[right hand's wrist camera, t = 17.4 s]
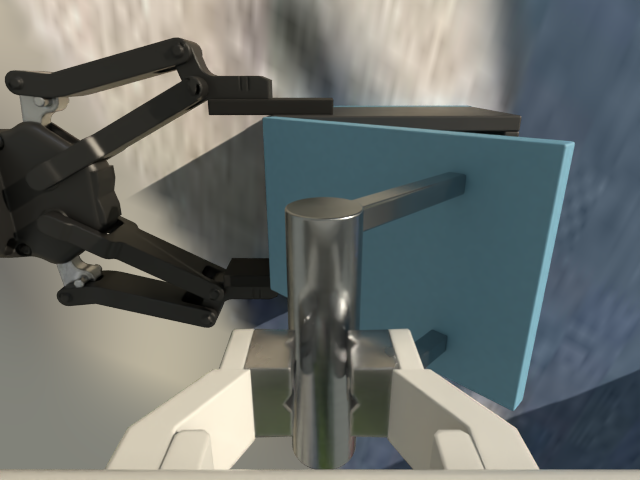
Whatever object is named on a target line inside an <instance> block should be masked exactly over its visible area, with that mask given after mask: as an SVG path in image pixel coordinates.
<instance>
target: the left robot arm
mask: <svg viewBox="0 0 640 480" xmlns="http://www.w3.org/2000/svg"><path fill="white" fill-rule="evenodd" d="M175 70H177V71H178V73H179V76H180V78H181V80H182V81H181V82H180V83H178V84H176V85H175V86H173V87H171V88H170V89H168V90H166V91H165V92H163V93H161V94H160V95H158V96H156V97H155V98H153V99H151V100H150V101H148V102H146V103H145V104H143V105H141V106H140V107H138V108H136V109H135V110H133V111H131V112H130V113H128V114H126V115H125V116H123V117H121V118H120V119H118V120H117V121H115V122H113V123H112V124H110V125H108V126H107V127H105V128H103V129H102V130H100V131H98V132H97V133H95V134H93V135H91V136H89V137H86V138H84V139H82V140H81V141H80V140H79V139H77V138H75V137H74V136H72V135H71V134H69V133H68V132H66V131H65V130H63V129H62V128H60V127H59V126H57V125H55V124H54V123H52V122H51V117H52V115H53V113H55V112H57V111H62V110H64V109H65V108H66V107H67V104H68V103H69V98H68V97H73V96H84V95H89V94H93V93H97V92H100V91H104V90H107V89H111V88H114V87H118V86H122V85H125V84H129V83H132V82H136V81H139V80H143V79H147V78H150V77H154V76H157V75H161V74H164V73H168V72H171V71H175ZM5 83H6V86H7V88H8V89H9V90H10V91H11V92H12V93H14V94H16V95H20V102H21V110H22V117H23V122H22V123H20V124H18V125H16V126H15V127H14V128H12V129H0V258H13V257H27V256H35V257H39V258H42V259H44V260H47V261H49V262H51V263H54V264H57V267H58V270H59V273H60V275H61V278H62V281H63V284H64V287H63V288H62V289H61V290H59V291H58V293H57V299H58V300H59V302H60V303H62V304H63V305H65V306H75V305H86V304H99V305H104V306H109V307H113V308H118V309H123V310H127V311H132V312H137V313H141V314H146V315H150V316H155V317H159V318H164V319H168V320H173V321H178V322H182V323H187V324H192V325H196V326H201V327H206V328H209V327H212V326H213V325H214V324H215V322H216V320H217V318H218V316H219V314H220V311H221V309H222V307H223V304H224V302H225V301H226V300H229V299H271V298H274V297H277V295H278V293H277V292H275V291H273V290H271V286H270V265H269V258H232V260H231V261H230V263H229V265H228V267H227V269H224V268H222V267H220V266H217V265H215V264H213V263H211V262H209V261H207V260H205V259H202V258H200V257H198V256H196V255H194V254H192V253H190V252H187V251H185V250H183V249H181V248H179V247H177V246H175V245H172V244H170V243H168V242H166V241H164V240H162V239H160V238H157V237H155V236H153V235H151V234H149V233H147V232H145V231H142V230H140V229H139V228H138V226H137V225H136V224H135V223H134V222H132V221H130V220H127V219H125V218H123V217H121V216H120V215H121V208H120V203H119V200H118V198H117V196H116V194H115V191H114V186H115V173H114V167H113V165H109V164H108V162H107V160H108V159H110V158H111V157H113V156H115V155H116V154H118V153H120V152H122V151H123V150H125V149H126V148H127V147H129V146H130V145H132V144H134V143H135V142H137V141H139V140H140V139H142V138H144V137H146V136H147V135H149V134H151V133H152V132H154V131H156V130H158V129H159V128H161V127H163V126H164V125H166V124H168V123H169V122H171V121H173V120H175V119H176V118H178V117H180V116H181V115H183V114H185V113H187V112H188V111H190V110H192V109H193V108H195V107H197V106H198V105H200V104H202V103H204V102H205V101H207V100H208V109H209V115H333V98H272V80H270V79H268V78H265V77H263V76H216V75H214V74H212V73H211V72H210V71H209V70H208V68H207V66H206V64H205V62H204V59H203V57H202V50H201V48H200V46H199V45H198V44H197V43H194V42H192V41H188V40H185V39H181V38H171V39H168V40H164V41H161V42H157V43H154V44H151V45H147V46H144V47H140V48H137V49H133V50H130V51H126V52H123V53H119V54H116V55H112V56H109V57H105V58H102V59H98V60H95V61H92V62H88V63H85V64H81V65H78V66H74V67H71V68H67V69H64V70H60V71H57V72H45V71H16V70H15V71H10V72H8V73H7V74H6V76H5ZM107 233H109V234H107ZM85 250H86V251H88V252H91V253H93V254H95V255H97V256H100V257H102V258H105V259H117V260H120V261H122V262H124V263H126V264H129V265H131V266H133V267H135V268H137V269H140V270H142V271H144V272H146V273H149V274H151V275H153V276H155V277H157V278H160V279H162V280H164V281H166V282H164V281H160V280H155V279H150V278H146V277H142V276H137V275H133V274H128V273H124V272H119V271H109V270H107V271H102V267H101V266H100V265H97V264H96V265H91V264H87V263H85V262H83V261H82V260H81V259H80V256H79V255H80V254H81V253H83V252H84V251H85Z"/></svg>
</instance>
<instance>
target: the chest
mask: <svg viewBox="0 0 640 480" xmlns="http://www.w3.org/2000/svg"><path fill="white" fill-rule="evenodd" d="M271 117H287V118H299V119H311V120H322V121H334V122H346V123H358V124H370V125H382V126H394V127H406V128H418V129H430V130H442V131H454V132H465V133H477V134H489V135H501V136H513V137H518V135H519V132H518V131H519V129H520V123H521V116H519V115H514V114H508V113H503V112H497V111H492V110H486V109H481V108H475V107H471V106H333V115H272V116H271Z"/></svg>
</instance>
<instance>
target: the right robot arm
mask: <svg viewBox="0 0 640 480" xmlns="http://www.w3.org/2000/svg"><path fill="white" fill-rule="evenodd" d="M346 349H347V361H346V396H347V401H348V420H349V431H350V436H355V437H388V440H389V441H390V443H391V444H392V445H393V446H394V447H395V449H396V450H397V451H398V452H399V453H400V454H401V456H402V457H403V458H404V459H405V460H406V462H407V463H408V464H409V465H410V466H411V468H412V469H413V470H261V469H260V470H259V469H257V470H256V469H255V470H253V469H251V470H250V469H246V470H245V469H242V470H240V469H238V470H237V469H231V468H232V466H233V465H234V464H235V463H236V462H237V460H238V459H239V458H240V457H241V456H242V454H243V453H244V452H245V451H246V450H247V449H248V447H249V446H250V445H251V444H252V443H253V441H254V440H255V437H285V436H293V427H294V415H295V410H294V401H295V400H296V383H297V361H296V360H295V354H296V332H295V330H279V329H255V330H254V329H234V330H233V331H232V333H231V336H230V339H229V342H228V344H227V347H226V350H225V353H224V356H223V359H222V361H221V364H220V367H219V369H213V370H211V371H210V372H208V373H207V374H205V375H204V376H202V377H201V378H199V379H198V380H197V381H195V382H194V383H192V384H191V385H189V386H188V387H186V388H185V389H183V390H182V391H181V392H179V393H178V394H176V395H175V396H173V397H172V398H170V399H169V400H167V401H166V402H165V403H163V404H162V405H160V406H159V407H157V408H156V409H154V410H153V411H151V412H150V413H148V414H147V415H146V416H144V417H143V418H141V419H140V420H138V421H137V422H135V423H134V424H132V425H131V426H130V427H128V428H127V430H126V432H125V433H124V435H123V437H122V439H121V441H120V442H119V444H118V446H117V448H116V450H115V452H114V453H113V455H112V457H111V459H110V460H109V462H108V464H107V466H106V468H105V469H0V480H640V470H603V469H539V468H538V466H537V464H536V462H535V460H534V459H533V457H532V455H531V453H530V452H529V450H528V448H527V446H526V444H525V443H524V441H523V439H522V437H521V436H520V434H519V432H518V430H517V428H515V427H514V426H512V425H511V424H509V423H508V422H506V421H505V420H503V419H502V418H501V417H499V416H498V415H496V414H495V413H493V412H492V411H490V410H489V409H487V408H486V407H484V406H483V405H481V404H480V403H479V402H477V401H476V400H474V399H473V398H471V397H470V396H468V395H467V394H465V393H464V392H462V391H461V390H460V389H458V388H457V387H455V386H454V385H452V384H451V383H449V382H448V381H446V380H445V379H443V378H442V377H441V376H439V375H438V374H436V373H435V372H433V371H432V370H430V369H424V368H423V365H422V362H421V359H420V357H419V354H418V351H417V349H416V346H415V343H414V340H413V338H412V335H411V332H410V330H409V329H385V330H347V340H346Z"/></svg>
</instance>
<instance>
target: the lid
mask: <svg viewBox="0 0 640 480" xmlns="http://www.w3.org/2000/svg"><path fill="white" fill-rule="evenodd" d="M263 140H264V161H265V182H266V203H267V223H268V244H269V265H270V286H271V290H273V291H275V292H277V293H279V294H281V295H283V296H285V297H287V298H288V327H289V330H295V332H296V354H295V360H296V361H297V383H296V400H295V401H294V410H295V415H294V427H293V436H292V447H293V451H294V454H295V455H296V457H297V458H298V460H299V461H300V462H301V463H303V464H304V465H306V466H307V467H310V468H312V469H316V470H333V469H336V468H339V467H341V466H343V465H344V464H346V463H347V462H348V461H349V460H350V459H351V457H352V456H353V454H354V451H355V447H356V437H355V436H350V431H349V420H348V401H347V396H346V361H347V349H346V340H347V330H385V329H409V330H410V332H411V335H412V338H413V340H414V343H415V346H416V349H417V351H418V354H419V357H420V359H421V362H422V365H423V368H424V369H425V368H428V369H430V370H432V371H434V372H436V373H438V374H440V375H442V376H444V377H446V378H448V379H450V380H452V381H454V382H456V383H458V384H460V385H462V386H464V387H466V388H468V389H470V390H472V391H474V392H476V393H478V394H480V395H482V396H484V397H486V398H488V399H490V400H492V401H494V402H496V403H498V404H500V405H502V406H504V407H506V408H508V409H510V410H512V411H514V410H515V409H516V407H517V406H518V405H519V403H520V402H521V401H522V399H523V394H524V389H525V384H526V380H527V375H528V370H529V365H530V360H531V355H532V350H533V345H534V340H535V336H536V331H537V326H538V321H539V316H540V311H541V306H542V301H543V296H544V292H545V287H546V282H547V277H548V272H549V267H550V262H551V257H552V252H553V248H554V243H555V238H556V233H557V228H558V223H559V218H560V213H561V208H562V204H563V199H564V194H565V189H566V184H567V179H568V174H569V169H570V164H571V160H572V155H573V150H574V145H575V144H574V142H572V141H561V140H549V139H537V138H525V137H513V136H501V135H489V134H477V133H465V132H454V131H442V130H430V129H418V128H406V127H394V126H382V125H370V124H358V123H346V122H334V121H322V120H311V119H299V118H287V117H264V118H263Z"/></svg>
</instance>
